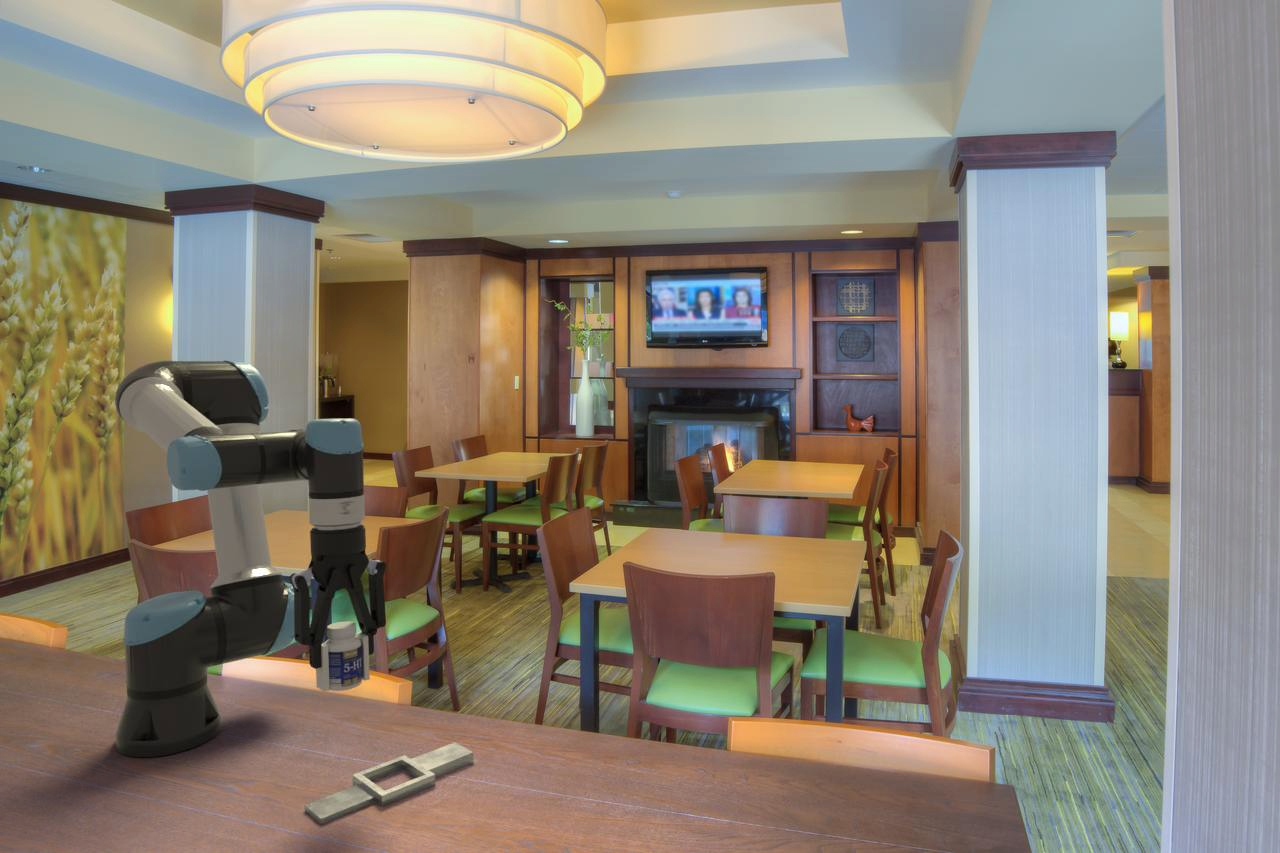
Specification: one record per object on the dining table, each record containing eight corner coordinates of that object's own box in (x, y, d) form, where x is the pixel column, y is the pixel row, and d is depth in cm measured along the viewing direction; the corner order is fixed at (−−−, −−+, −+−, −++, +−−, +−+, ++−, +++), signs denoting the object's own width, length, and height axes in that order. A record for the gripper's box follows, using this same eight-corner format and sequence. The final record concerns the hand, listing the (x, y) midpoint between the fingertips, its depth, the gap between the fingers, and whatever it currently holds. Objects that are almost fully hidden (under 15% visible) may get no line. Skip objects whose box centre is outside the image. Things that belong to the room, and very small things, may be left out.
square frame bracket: (327, 829, 110) (326, 818, 110) (299, 805, 116) (298, 794, 116) (480, 766, 128) (479, 756, 127) (449, 748, 133) (448, 738, 133)
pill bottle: (348, 693, 116) (346, 631, 116) (316, 690, 118) (314, 629, 117) (369, 680, 122) (367, 620, 121) (338, 677, 123) (336, 619, 122)
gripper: (283, 537, 109) (289, 707, 111) (408, 520, 122) (413, 673, 123) (262, 530, 115) (269, 693, 116) (384, 514, 128) (389, 661, 129)
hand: (343, 682), depth 120 cm, fingers closed on pill bottle, 5 cm apart
